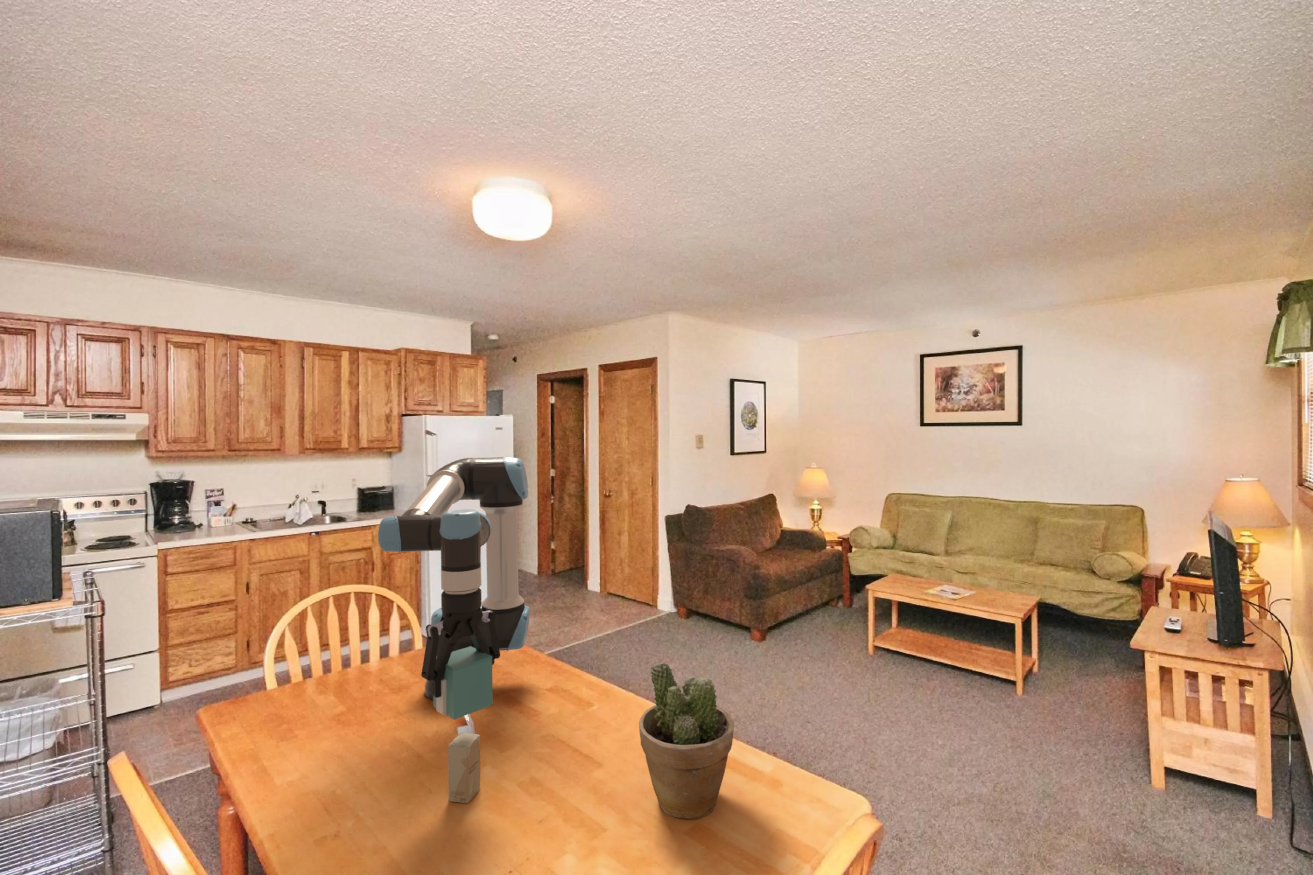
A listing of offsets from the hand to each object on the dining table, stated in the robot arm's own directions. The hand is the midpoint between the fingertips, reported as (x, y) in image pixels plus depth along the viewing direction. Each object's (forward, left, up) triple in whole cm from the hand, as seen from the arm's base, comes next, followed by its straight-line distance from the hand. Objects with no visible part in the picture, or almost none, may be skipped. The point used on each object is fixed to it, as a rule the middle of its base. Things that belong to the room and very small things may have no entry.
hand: (462, 703), depth 115 cm
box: (0, 0, -18) cm, 18 cm away
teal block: (0, 0, 0) cm, 0 cm away
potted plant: (-28, +34, -18) cm, 48 cm away
